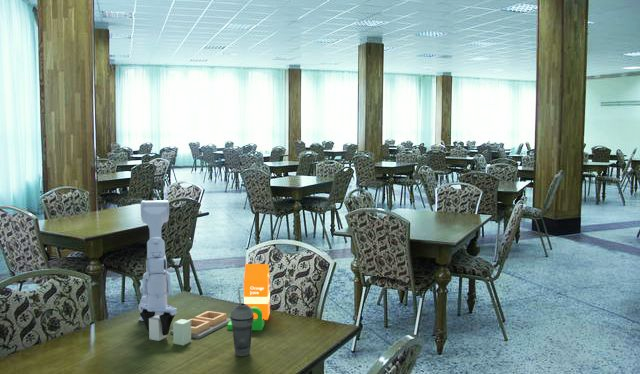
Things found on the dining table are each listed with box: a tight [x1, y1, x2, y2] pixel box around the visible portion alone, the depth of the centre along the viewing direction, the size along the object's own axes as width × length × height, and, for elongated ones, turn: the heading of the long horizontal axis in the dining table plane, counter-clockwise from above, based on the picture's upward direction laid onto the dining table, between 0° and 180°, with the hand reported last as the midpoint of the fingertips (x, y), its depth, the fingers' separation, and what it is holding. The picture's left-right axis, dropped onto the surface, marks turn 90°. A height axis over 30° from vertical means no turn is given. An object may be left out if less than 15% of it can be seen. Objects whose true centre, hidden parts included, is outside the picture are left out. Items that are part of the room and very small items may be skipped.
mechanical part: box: [226, 307, 265, 331], centre depth 203 cm, size 12×6×8 cm, turn 87°
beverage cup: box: [229, 288, 254, 357], centre depth 178 cm, size 7×7×20 cm
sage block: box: [172, 318, 192, 346], centre depth 188 cm, size 4×4×7 cm
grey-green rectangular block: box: [148, 315, 168, 341], centre depth 192 cm, size 4×4×7 cm
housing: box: [169, 310, 231, 340], centre depth 203 cm, size 12×20×3 cm, turn 155°
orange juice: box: [243, 263, 271, 321], centre depth 215 cm, size 8×9×20 cm
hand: (158, 333), depth 192 cm, fingers open, 6 cm apart
